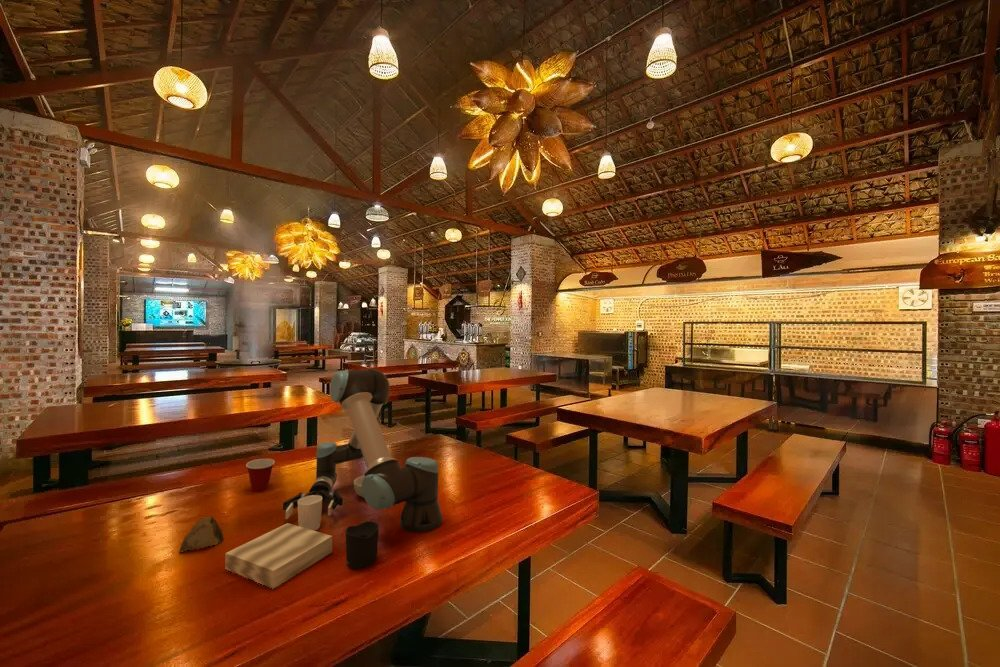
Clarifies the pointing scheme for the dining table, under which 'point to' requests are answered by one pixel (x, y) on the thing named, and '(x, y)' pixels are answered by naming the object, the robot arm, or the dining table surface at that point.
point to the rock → (202, 535)
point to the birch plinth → (278, 554)
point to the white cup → (310, 512)
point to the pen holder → (362, 545)
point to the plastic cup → (260, 473)
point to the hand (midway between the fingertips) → (308, 513)
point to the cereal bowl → (359, 485)
